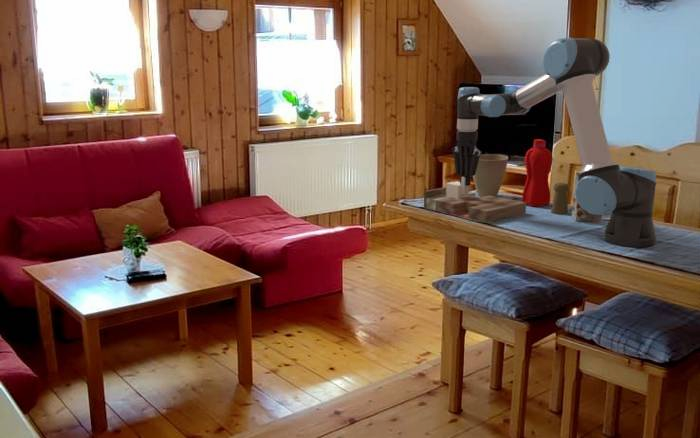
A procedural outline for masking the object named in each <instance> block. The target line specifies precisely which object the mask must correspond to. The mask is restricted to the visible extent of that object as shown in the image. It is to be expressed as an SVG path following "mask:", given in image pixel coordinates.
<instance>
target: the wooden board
mask: <svg viewBox="0 0 700 438" xmlns="http://www.w3.org/2000/svg"><path fill="white" fill-rule="evenodd" d="M423 209H427V210H431V211H434V212H440V213H443V214H448V215H451V216H457V217H461V218H465V219H469V220H473V221H476V222H477V221H478V222H481V223H485V224H486V223H491V222H495V221H499V220H504V219H507V218H508V219H509V218H513V217H518V216H521V215H526V213H527V212H526V211H527V205H526V203H525V202H522V201H520V200H513V199H510V198H509V199H508V198H504V197H501V196H496V197H495V196H490V195H489V196H484V197H480V196H476V192H474V191H470V190H469V197H465V198H459V199H456V198H452V197H447V196H446V186H444V187H438V188H434V189H427V190H424V191H423Z"/></svg>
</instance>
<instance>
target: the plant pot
mask: <svg viewBox="0 0 700 438" xmlns="http://www.w3.org/2000/svg"><path fill="white" fill-rule="evenodd" d="M508 161H509V157H508V156H506V155H501V154H486V153H485V154H481V155H480V157H479V161H478V165H477V170H476V174H475V175H474V176H472V178H473V183H474V187H475V189H476V192H477V197H484V196H489V195H490V196H495V197H498V194H499V192H500V190H501V187H502V184H503V181H504V178H505V175H506V171H507V166H508Z"/></svg>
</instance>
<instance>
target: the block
mask: <svg viewBox="0 0 700 438" xmlns="http://www.w3.org/2000/svg"><path fill="white" fill-rule="evenodd" d="M445 187H446V196H447V197H452V198H456V199H459V198H465V197H469V194H464V195H463V194H461V184H460V181H450V182H446V184H445Z"/></svg>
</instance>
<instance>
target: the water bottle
mask: <svg viewBox="0 0 700 438" xmlns="http://www.w3.org/2000/svg"><path fill="white" fill-rule="evenodd" d="M546 143H547V141H546V140H544V139H540V138H537V139H536V138H535V139H533V146H532V147H531V148H530V149H528V150H527V151H526V153H525V156H524V164H525V165H524V166H525V171H526V180H525V184H524V187H523V191H522V195H521V202H525V203H526V206H531V207H536V208H537V207H538V208H539V207H544V206H548V205H550V202H551V189H550V183H549V175H550V173H551V170H552V165H553V160H554V159H553V152H551V150H550V149H548V148H547V147H546Z"/></svg>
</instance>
